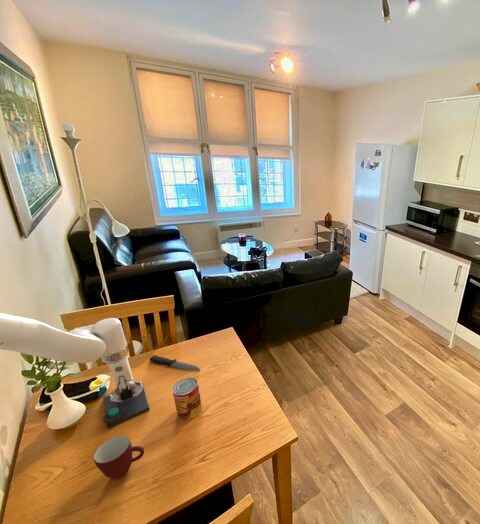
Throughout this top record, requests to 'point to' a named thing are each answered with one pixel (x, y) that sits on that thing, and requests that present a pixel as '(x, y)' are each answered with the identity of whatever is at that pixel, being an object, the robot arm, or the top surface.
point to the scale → (125, 409)
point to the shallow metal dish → (136, 392)
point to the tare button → (113, 412)
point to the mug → (116, 456)
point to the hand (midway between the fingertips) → (126, 390)
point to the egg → (126, 386)
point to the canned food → (187, 398)
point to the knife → (172, 363)
